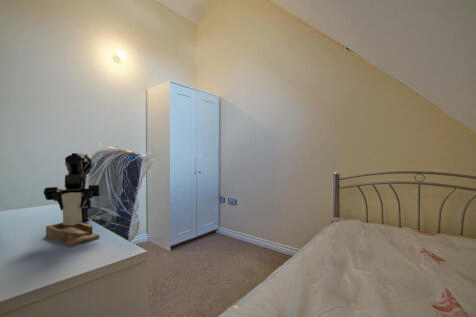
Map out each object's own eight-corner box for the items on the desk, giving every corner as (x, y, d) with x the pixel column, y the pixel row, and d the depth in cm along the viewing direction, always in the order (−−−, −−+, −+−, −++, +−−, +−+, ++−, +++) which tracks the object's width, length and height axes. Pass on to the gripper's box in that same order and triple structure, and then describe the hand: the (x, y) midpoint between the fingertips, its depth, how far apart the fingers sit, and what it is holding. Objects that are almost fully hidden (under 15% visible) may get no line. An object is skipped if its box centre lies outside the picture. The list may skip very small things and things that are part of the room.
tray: (73, 228, 98) (73, 219, 98) (99, 237, 88) (99, 228, 88) (46, 235, 89) (46, 226, 89) (70, 247, 79) (70, 236, 79)
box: (82, 222, 90) (82, 192, 90) (72, 226, 86) (72, 194, 86) (71, 221, 91) (71, 191, 91) (61, 225, 87) (61, 193, 86)
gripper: (44, 167, 86) (36, 200, 77) (99, 166, 96) (97, 195, 87) (49, 184, 93) (43, 216, 84) (100, 181, 103) (99, 210, 94)
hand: (71, 208), depth 87 cm, fingers closed on box, 6 cm apart
